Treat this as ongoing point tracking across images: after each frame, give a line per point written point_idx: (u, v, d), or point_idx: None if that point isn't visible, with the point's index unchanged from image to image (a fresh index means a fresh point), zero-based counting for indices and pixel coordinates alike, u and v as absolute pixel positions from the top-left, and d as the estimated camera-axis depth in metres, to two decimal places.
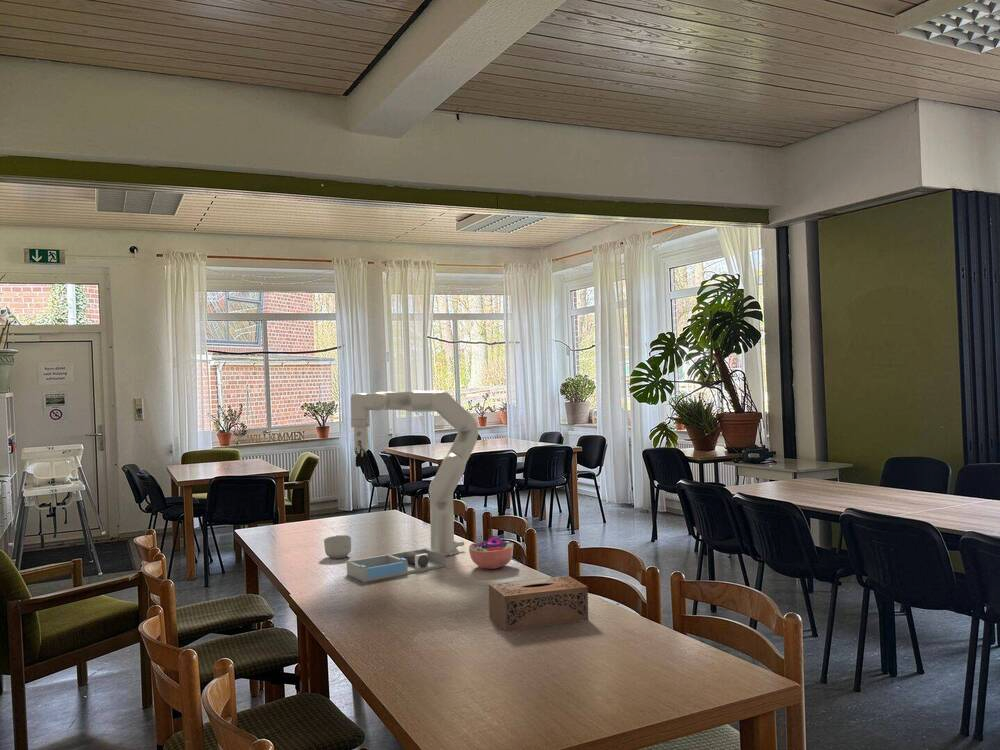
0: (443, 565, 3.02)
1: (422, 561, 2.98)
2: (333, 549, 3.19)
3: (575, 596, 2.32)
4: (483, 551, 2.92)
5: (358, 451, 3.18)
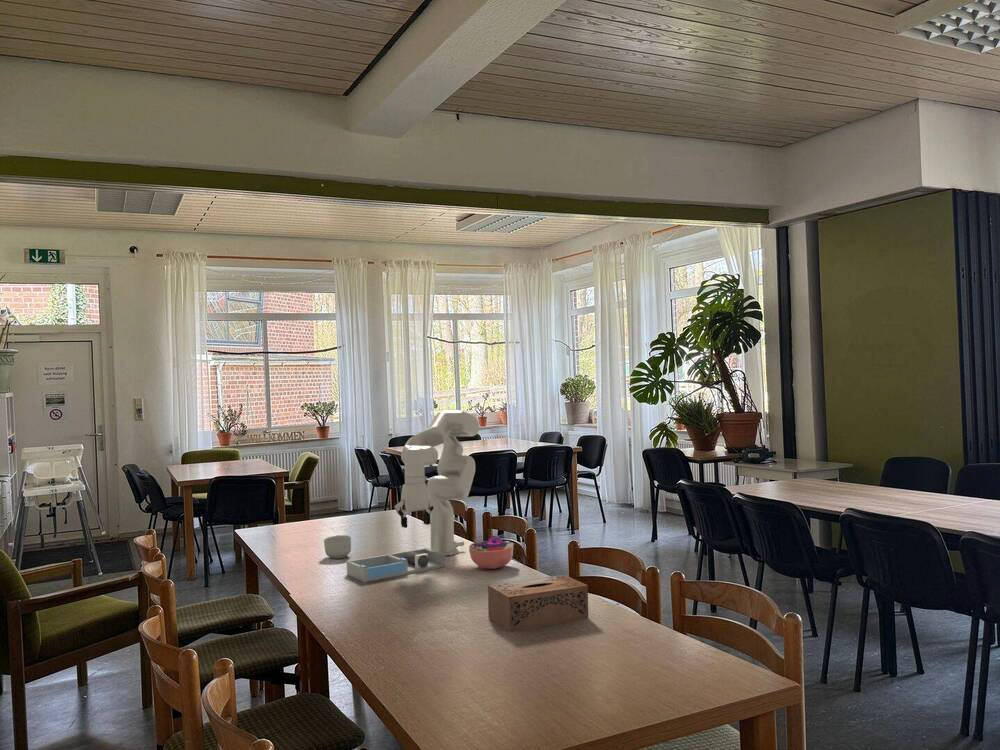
0: (443, 565, 3.02)
1: (422, 561, 2.98)
2: (333, 549, 3.19)
3: (576, 595, 2.33)
4: (483, 551, 2.92)
5: None
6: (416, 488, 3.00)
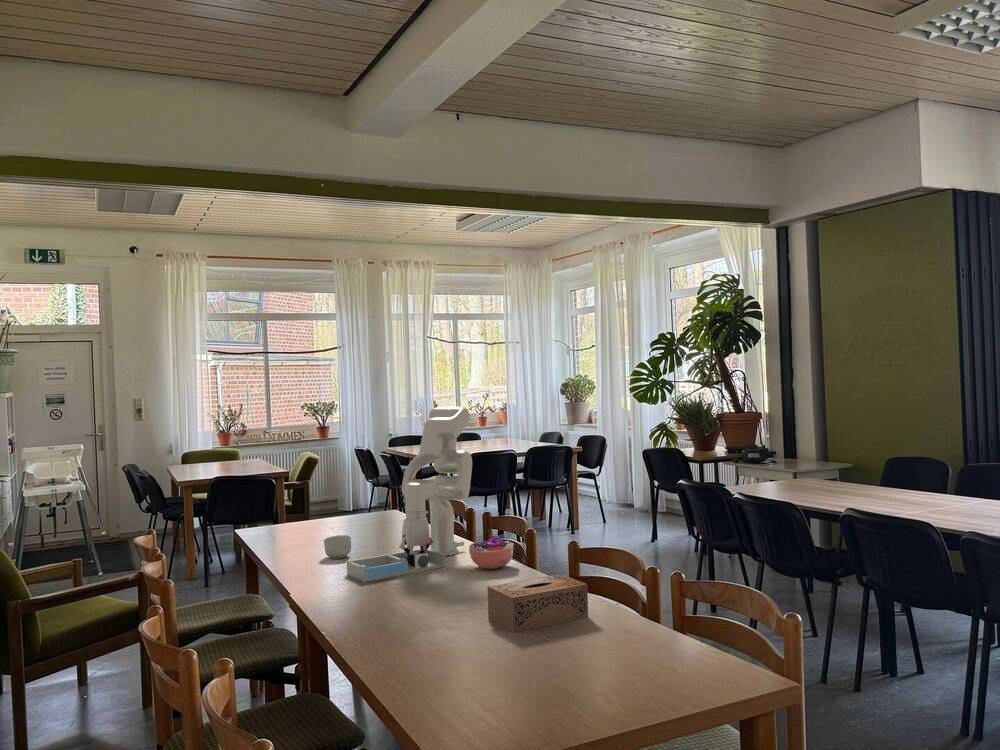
0: (443, 565, 3.02)
1: (422, 561, 2.98)
2: (333, 549, 3.19)
3: (576, 594, 2.34)
4: (483, 551, 2.92)
5: None
6: (417, 523, 3.00)
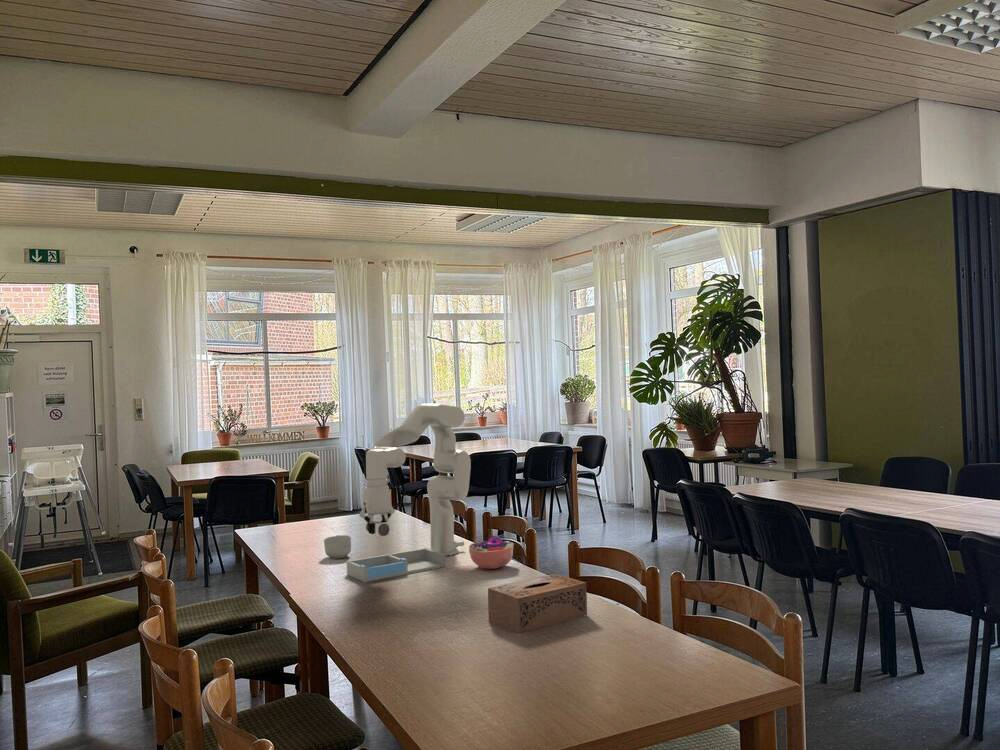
0: (443, 565, 3.02)
1: (383, 530, 2.89)
2: (333, 549, 3.19)
3: (576, 593, 2.35)
4: (483, 551, 2.92)
5: None
6: (378, 490, 2.91)
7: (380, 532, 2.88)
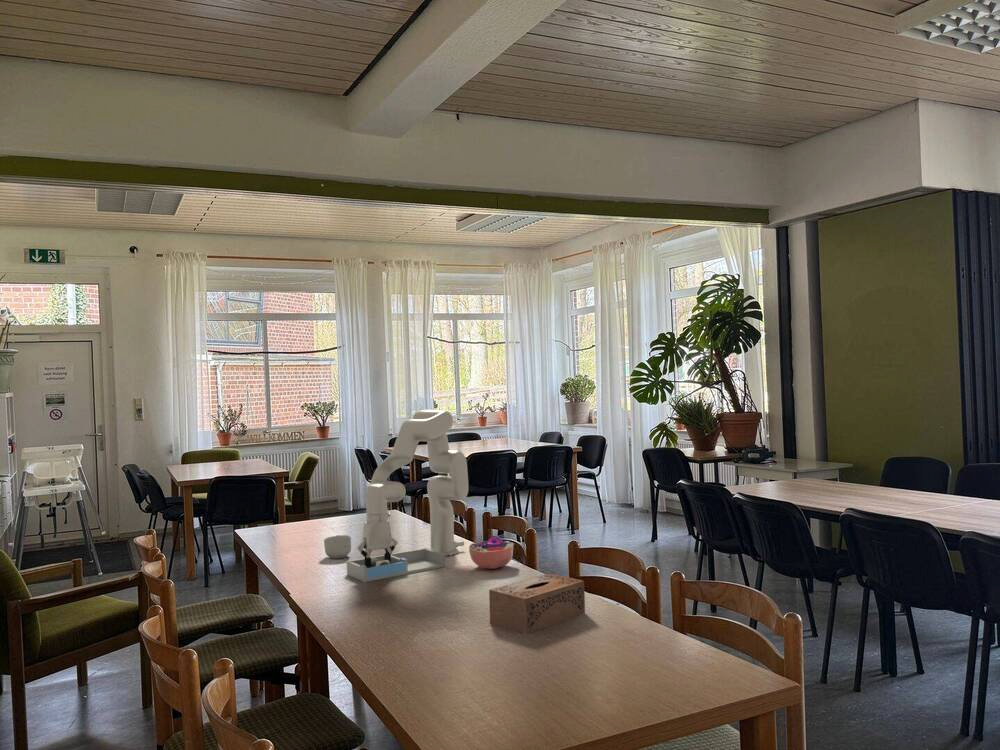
0: (443, 565, 3.02)
1: None
2: (333, 549, 3.19)
3: (576, 592, 2.37)
4: (483, 551, 2.92)
5: None
6: (378, 526, 2.91)
7: None
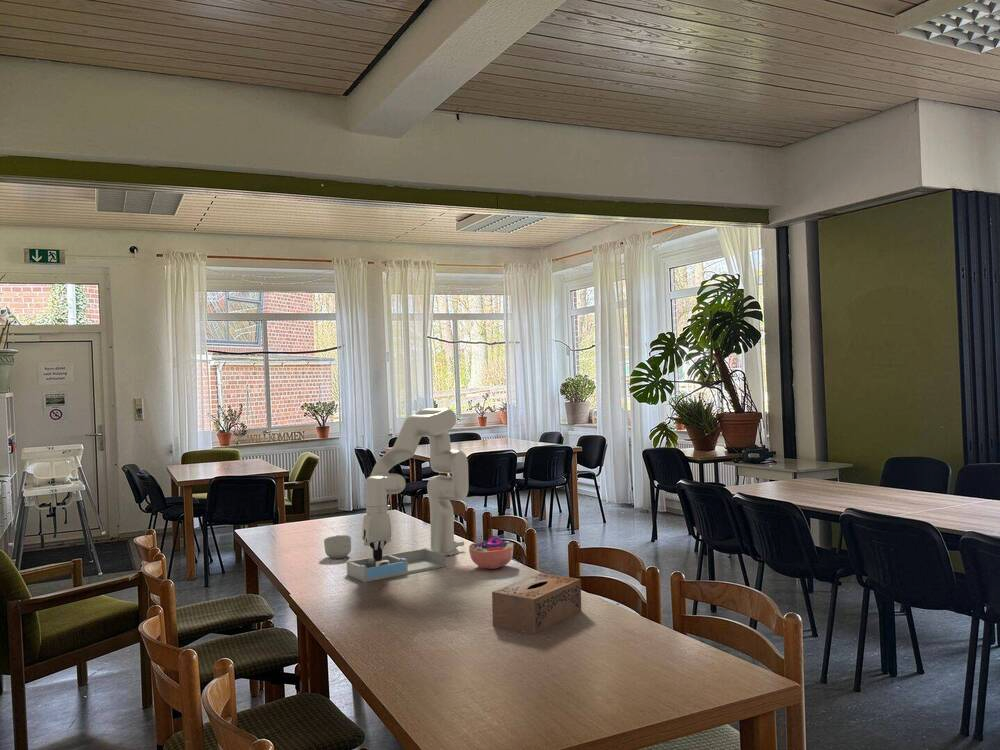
0: (443, 565, 3.02)
1: None
2: (333, 549, 3.19)
3: (574, 590, 2.39)
4: (483, 551, 2.92)
5: None
6: (378, 517, 2.91)
7: None
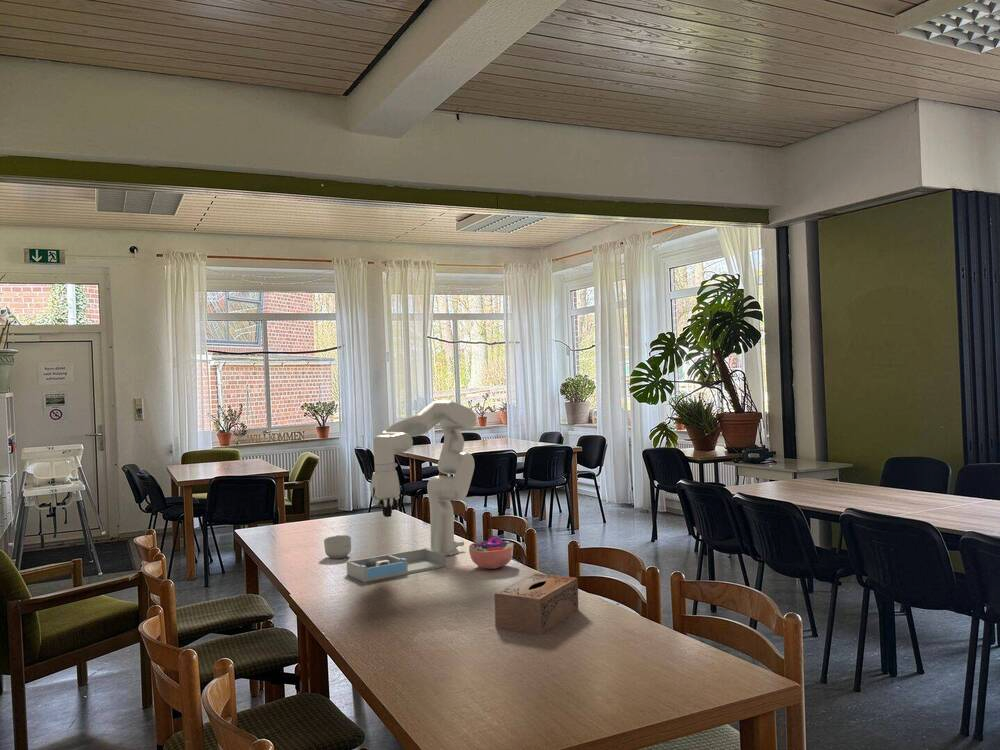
0: (443, 565, 3.02)
1: None
2: (333, 549, 3.19)
3: (572, 589, 2.40)
4: (483, 551, 2.92)
5: None
6: (386, 475, 2.97)
7: None
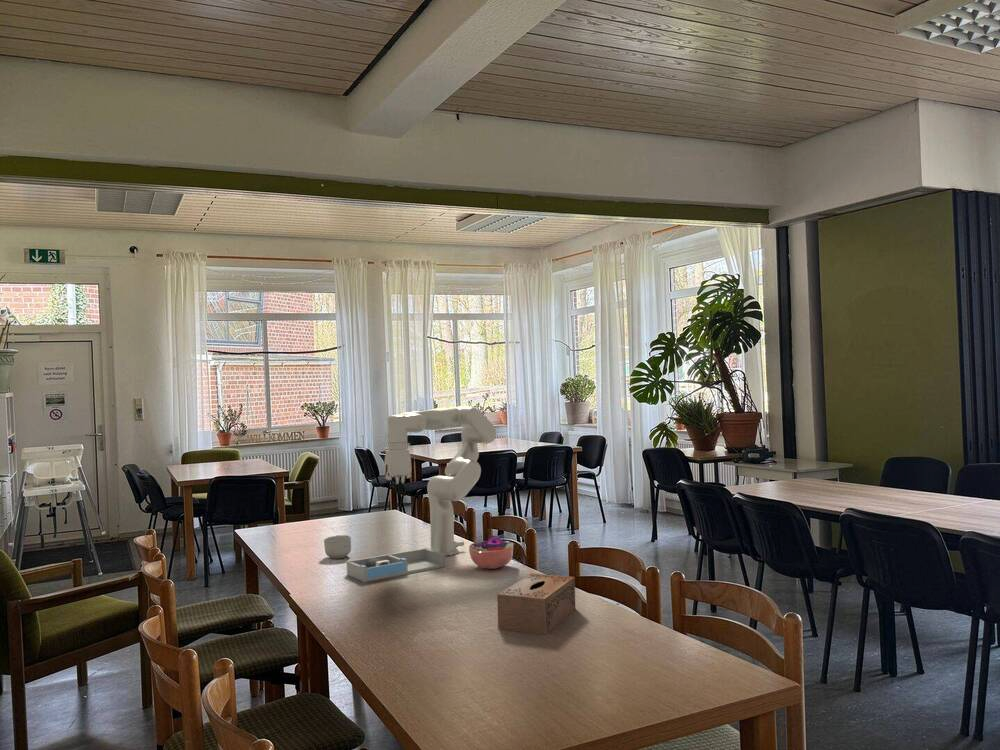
0: (443, 565, 3.02)
1: None
2: (333, 549, 3.19)
3: (570, 588, 2.41)
4: (483, 551, 2.92)
5: None
6: (399, 453, 3.08)
7: None
